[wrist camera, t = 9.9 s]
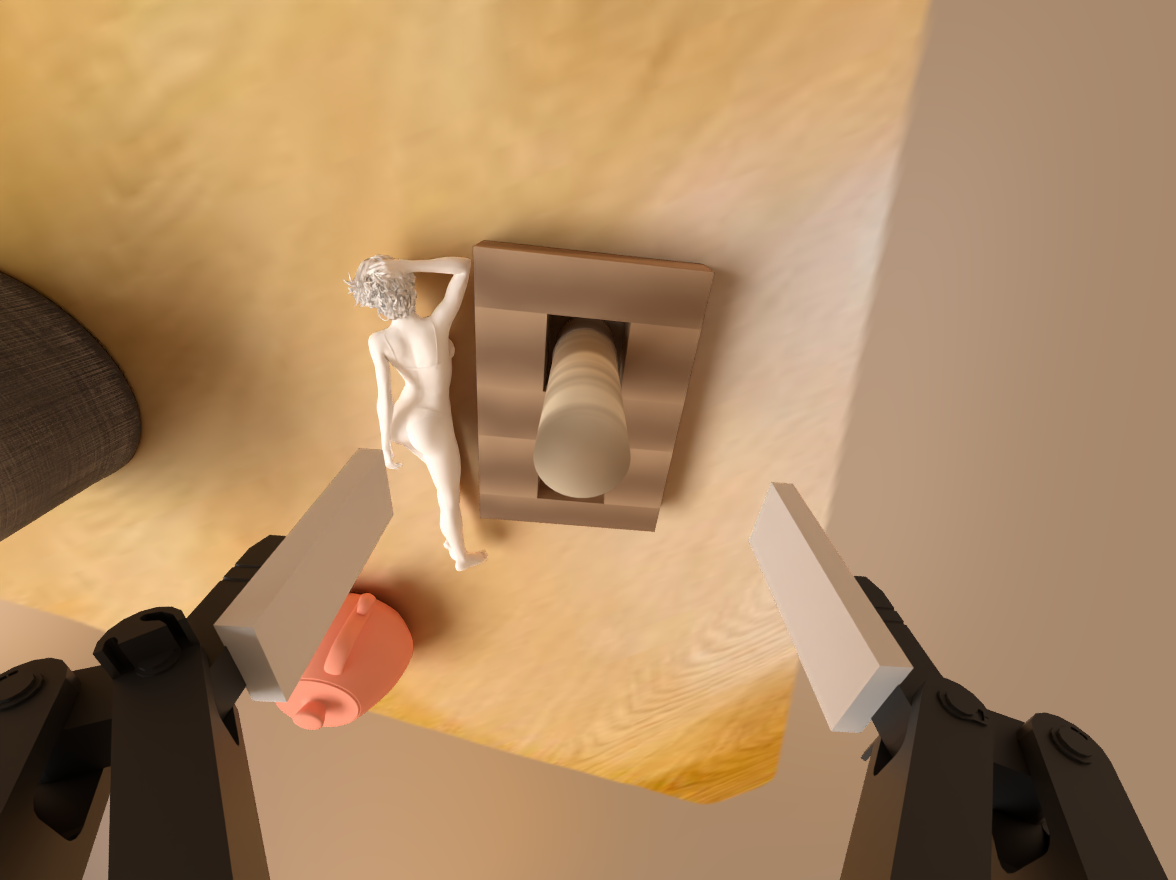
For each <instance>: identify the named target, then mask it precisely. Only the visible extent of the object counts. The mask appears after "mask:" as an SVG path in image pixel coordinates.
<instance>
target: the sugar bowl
mask: <svg viewBox="0 0 1176 880" xmlns="http://www.w3.org/2000/svg"><path fill="white" fill-rule="evenodd" d="M412 653H413V640H412V636H411V634H410V632H409V629H408V627H407V625H406V624H405V622H404V620H403V619H402V617H401V616H400V615H399V613H398V612H397V611H396V610H394V609H392V608H391V607H390V606H388V605H387V604H385V603H383V602H381V601H379V600H377V599H376V598H375V596H373V595H372V594H370V593H364V594H362V595H360V594H354V593H349V594H348V595H347V597H346V599H345V601H344V603H343V604H342V606H341V608H340V610H339V611H338V613H337V615H336V617H335V618H334V620H333V622H332V624H331V626H330V627H329V629H328V631H327V633H326V634H325V636H324V638H323V640H322V641H321V643H320V645H319V647H318V648H317V650H316V652H315V654H314V656H313V657H312V659H311V661H310V663H309V664H308V666H307V668H306V670H305V671H304V673H303V675H302V677H301V679H300V680H299V682H298V684H297V686H296V687H295V689H294V691H293V693H292V694H291V696H290V698H289V700H288V702H276V704H277V706H278V707H279V708H280V709H281V710H282V711H283V712H284V713H285V714H287V715H288V716H290V717H292V718H293V722H294V723H295V724H296V725H298V726H300V727H302V728H305V729H311V730H314V729H320V728H321V727H322V726H324V727H325V726H326V727H334V726H341V725H345V724H348V723H350V722H352V721H354V720H355V719H357V718H358V717H360V716H361V715H363V714H364V713H365V712H367V711H368V710H369V709H370V708H372V707H373V706H374V705H375V704H376V703H378V702H379V701H380V700H381V699H382V698H383V697H384V696H385V695H386V694H387V693H388V692H389V691H390V690H391V689H392V688H393V687H394V686H395V684H396V683H397V682H398V680H399V679H400V677H401V676H402V675H403V673H404V671H405V670H406V668H407V666H408V664H409V662H410V659H411V657H412Z"/></svg>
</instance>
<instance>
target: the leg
mask: <svg viewBox="0 0 1176 880" xmlns="http://www.w3.org/2000/svg"><path fill="white" fill-rule="evenodd" d="M630 460H631V455H630V447H629V440H628V433H627V427H626V420H625V413H624V406H623V400H622V393H621V386H620V380H619V373H618V366H617V352H616V348H615V346H614V339H613V335H612V332H611V330H610V329H609V327H608V326H607V325H606V324H605V323H604V322H603V321H601V320H600V319H591V318H581V317H575V318H573V319H571V320H569V321H568V322H567V323H565V324H564V326H563V327H562V328H561V330H560V332H559V334H558V338H557V342H556V345H555V347H554V351H553V356H552V366H551V371H550V376H549V380H548V385H547V390H546V395H545V399H544V404H543V409H542V414H541V418H540V423H539V428H538V433H537V437H536V442H535V447H534V453H533V461H534V466H535V469H536V471H537V473H538V475H539V477H540V478H541V479H542V481H543V482H544V483H545V484H546V485H547V486H549V487H550V488H551V489H553V490H554V491H556V492H558V493H560V494H563V495H566V496H570V497H575V498H590V497H595V496H599V495H602V494H604V493H607V492H608V491H610V490H612V489H613V488H615V487H616V486H617V485H618V484H619V483H620V482H621V481H622V480H623V479H624V477H625V475H626V474H627V472H628V469H629V466H630Z"/></svg>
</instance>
